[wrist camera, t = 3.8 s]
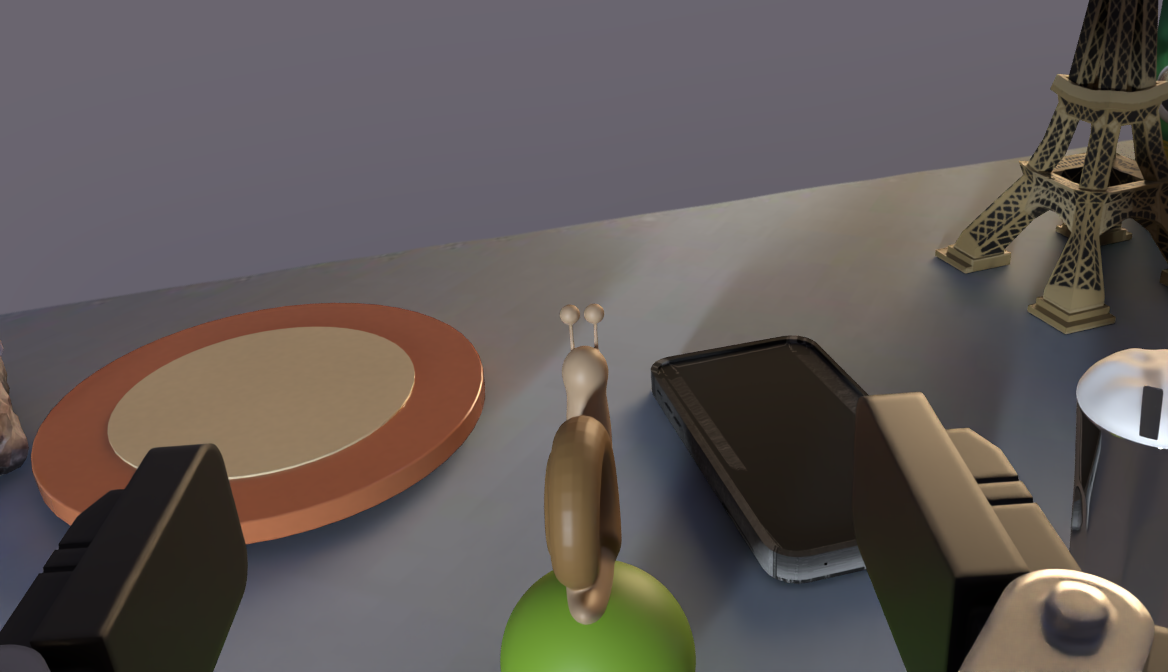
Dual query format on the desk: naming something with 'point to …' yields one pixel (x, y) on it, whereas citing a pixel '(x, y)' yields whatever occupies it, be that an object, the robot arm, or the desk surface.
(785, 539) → the phone
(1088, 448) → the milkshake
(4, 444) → the geode
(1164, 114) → the coffee box
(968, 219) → the desk surface
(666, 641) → the snail figurine
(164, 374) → the plate
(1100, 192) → the eiffel tower
